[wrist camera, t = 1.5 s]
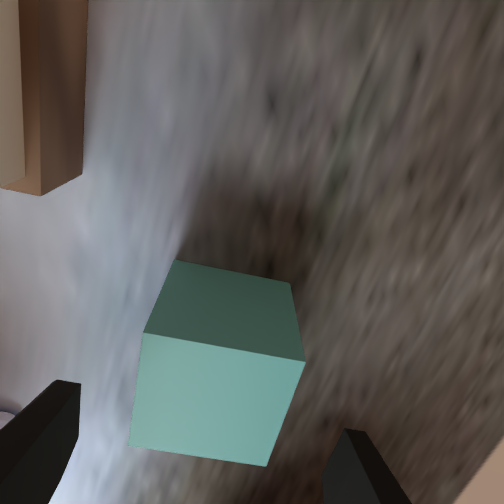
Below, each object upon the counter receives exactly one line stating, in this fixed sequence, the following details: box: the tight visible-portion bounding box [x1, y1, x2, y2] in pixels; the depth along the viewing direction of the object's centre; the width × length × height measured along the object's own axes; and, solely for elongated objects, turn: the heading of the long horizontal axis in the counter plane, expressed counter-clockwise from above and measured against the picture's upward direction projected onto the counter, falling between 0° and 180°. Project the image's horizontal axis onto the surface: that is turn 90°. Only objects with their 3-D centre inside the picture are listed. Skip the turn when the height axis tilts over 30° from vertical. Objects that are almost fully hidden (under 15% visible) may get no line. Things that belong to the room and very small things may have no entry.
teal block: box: [128, 259, 306, 467], centre depth 13 cm, size 4×4×4 cm
